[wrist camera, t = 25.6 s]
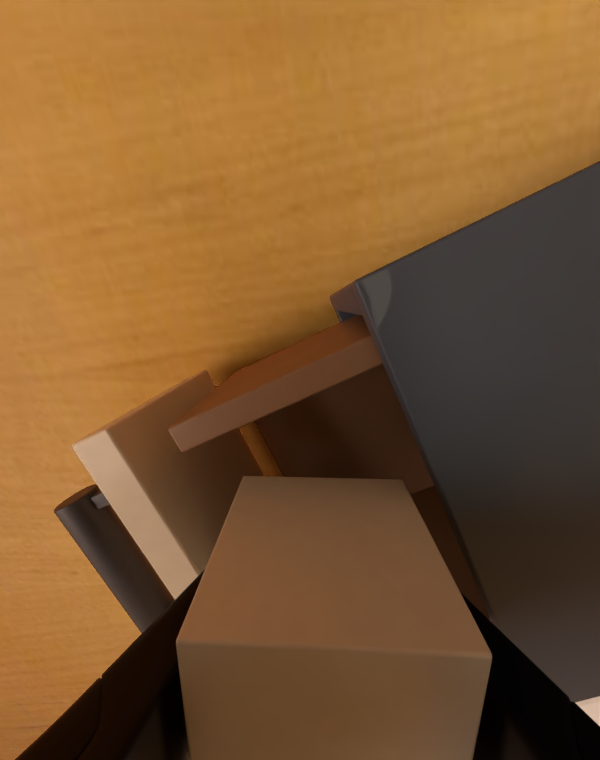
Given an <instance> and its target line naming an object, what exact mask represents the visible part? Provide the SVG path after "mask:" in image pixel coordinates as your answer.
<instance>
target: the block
mask: <svg viewBox="0 0 600 760" xmlns="http://www.w3.org/2000/svg"><path fill="white" fill-rule="evenodd" d="M176 649H177V657H178V665H179V674H180V682H181V690H182V698H183V707H184V715H185V723H186V732H187V740H188V748H189V757H190V760H473V756H474V751H475V746H476V741H477V735H478V730H479V725H480V720H481V714H482V709H483V704H484V699H485V694H486V688H487V683H488V678H489V673H490V667H491V662H492V654H491V651H490V649H489V647H488V646H487V644H486V642H485V640H484V638H483V636H482V634H481V632H480V630H479V628H478V626H477V624H476V622H475V620H474V618H473V616H472V614H471V612H470V610H469V608H468V607H467V605H466V603H465V601H464V599H463V597H462V595H461V593H460V591H459V589H458V587H457V585H456V583H455V581H454V579H453V577H452V575H451V573H450V571H449V570H448V568H447V566H446V564H445V562H444V560H443V558H442V556H441V554H440V552H439V550H438V548H437V546H436V544H435V542H434V540H433V538H432V536H431V534H430V532H429V531H428V529H427V527H426V525H425V523H424V521H423V519H422V517H421V515H420V513H419V511H418V509H417V507H416V505H415V503H414V501H413V499H412V497H411V495H410V494H409V492H408V490H407V488H406V486H405V484H404V482H403V480H401V479H358V478H314V477H271V476H243V478H242V481H241V483H240V486H239V488H238V490H237V493H236V495H235V498H234V500H233V503H232V505H231V508H230V510H229V512H228V515H227V517H226V520H225V522H224V525H223V527H222V530H221V532H220V534H219V537H218V539H217V542H216V544H215V547H214V549H213V551H212V554H211V556H210V559H209V561H208V564H207V566H206V569H205V571H204V573H203V576H202V578H201V581H200V583H199V586H198V588H197V590H196V593H195V595H194V598H193V600H192V603H191V605H190V608H189V610H188V612H187V615H186V617H185V620H184V622H183V625H182V627H181V630H180V632H179V634H178V637H177V639H176Z"/></svg>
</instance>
